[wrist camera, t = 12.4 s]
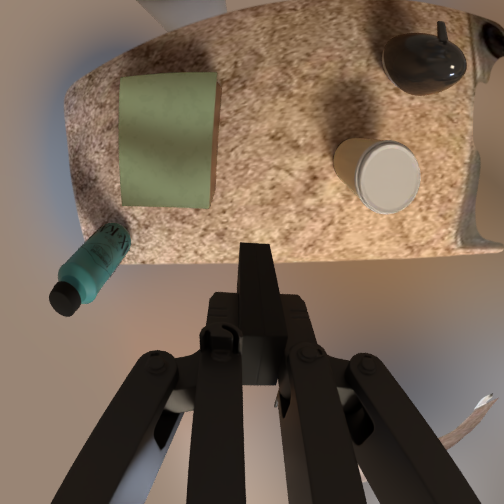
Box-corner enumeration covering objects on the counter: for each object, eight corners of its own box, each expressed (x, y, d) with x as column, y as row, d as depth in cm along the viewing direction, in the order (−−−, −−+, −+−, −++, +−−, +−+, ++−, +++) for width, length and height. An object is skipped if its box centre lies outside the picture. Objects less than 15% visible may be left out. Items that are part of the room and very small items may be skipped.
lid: (122, 77, 25) (120, 77, 25) (217, 72, 26) (217, 72, 26) (124, 204, 33) (121, 206, 33) (210, 206, 34) (209, 209, 34)
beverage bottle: (126, 258, 46) (78, 335, 28) (97, 239, 44) (37, 307, 26) (141, 230, 44) (89, 304, 26) (109, 209, 42) (43, 272, 24)
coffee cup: (375, 193, 42) (412, 220, 31) (323, 185, 41) (350, 211, 31) (385, 139, 38) (428, 151, 27) (332, 127, 37) (365, 133, 26)
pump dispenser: (412, 37, 29) (470, 23, 15) (430, 93, 33) (492, 96, 20) (363, 40, 30) (416, 16, 17) (383, 99, 35) (443, 100, 21)
